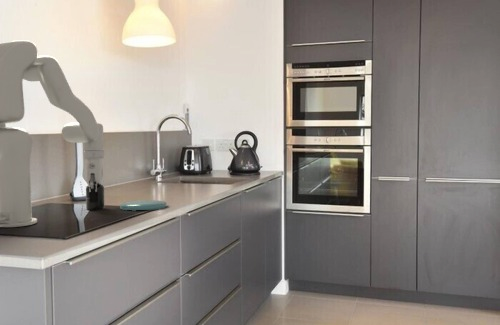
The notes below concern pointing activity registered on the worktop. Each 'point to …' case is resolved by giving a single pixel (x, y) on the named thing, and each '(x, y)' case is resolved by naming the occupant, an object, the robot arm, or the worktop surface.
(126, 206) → the dish
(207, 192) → the worktop surface
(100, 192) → the supplement bottle
